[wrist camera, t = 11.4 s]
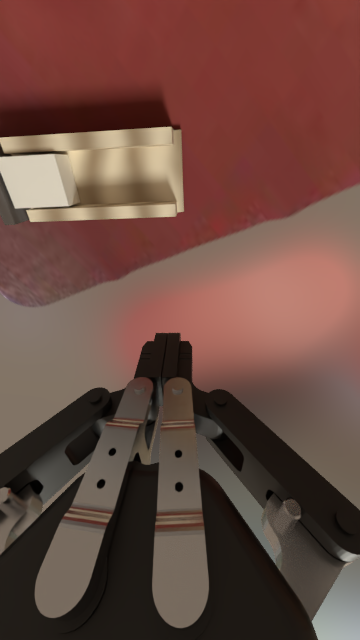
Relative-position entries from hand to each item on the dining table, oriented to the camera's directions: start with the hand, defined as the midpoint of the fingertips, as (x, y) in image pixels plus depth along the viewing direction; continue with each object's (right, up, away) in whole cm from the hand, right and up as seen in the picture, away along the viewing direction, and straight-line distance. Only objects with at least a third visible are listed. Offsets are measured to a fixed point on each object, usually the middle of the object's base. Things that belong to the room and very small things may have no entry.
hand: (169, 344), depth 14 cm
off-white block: (-19, +22, +20) cm, 35 cm away
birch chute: (-11, +23, +20) cm, 32 cm away
